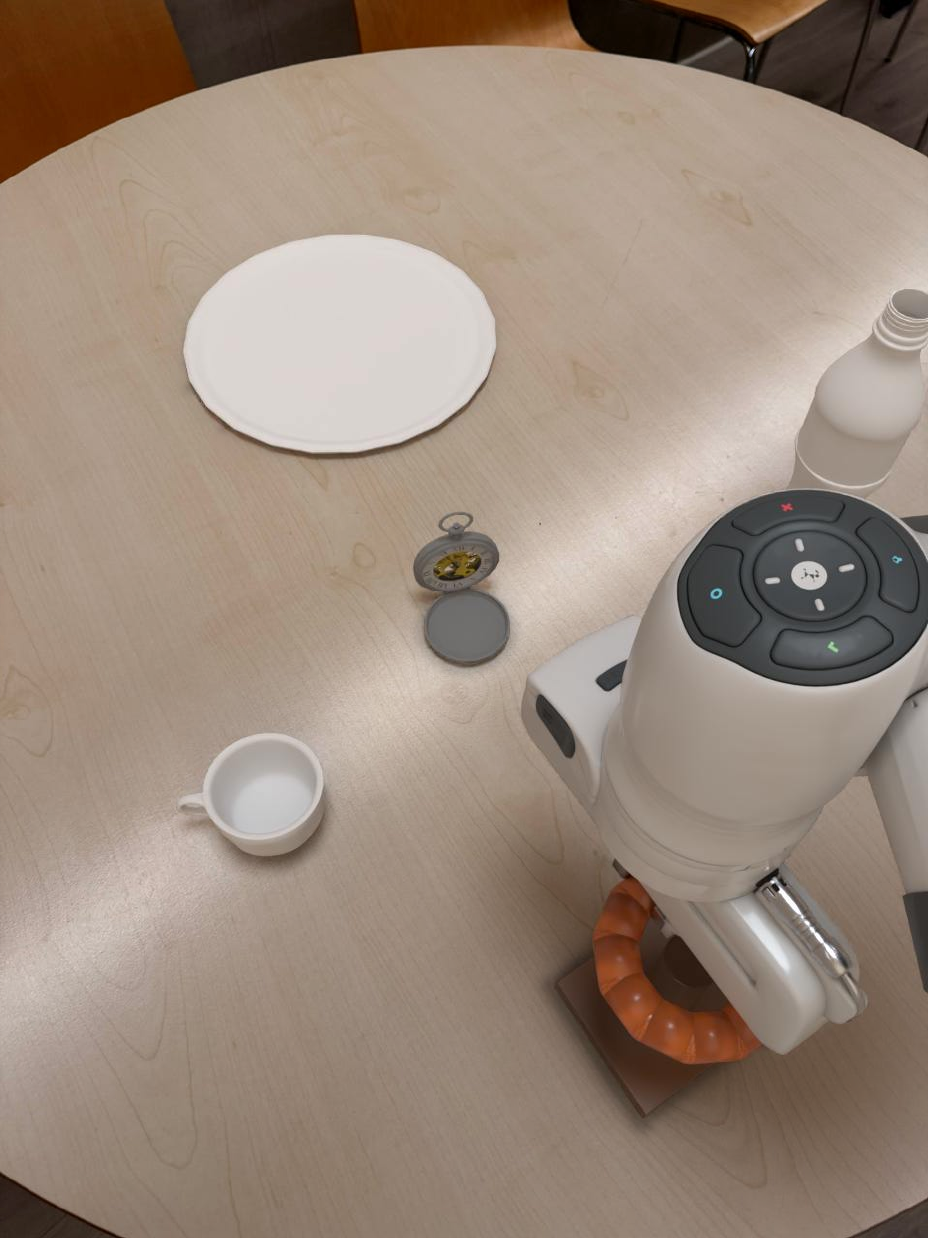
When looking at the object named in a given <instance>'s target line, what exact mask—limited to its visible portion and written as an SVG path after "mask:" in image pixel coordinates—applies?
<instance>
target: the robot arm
mask: <svg viewBox="0 0 928 1238" xmlns="http://www.w3.org/2000/svg"><path fill="white" fill-rule="evenodd" d="M520 717H521V721H522V724H523V726H524V728H525V731H526V732H527V735H528V736H529V737H530V740H531V741H532V742H533V744H534V745H535V746H536V747H537V749H538V750H539V751H540V753H542V755H543V757H545V759H546V760H547V762H548V763H549V765H550V766H551V767H552V768H553V770H554V771H555V772H556V774H557V775H558V776H559V778H560V779H561V781H563V784H565V785H566V787H567V788H568V790H569V791H570V793H571V794H572V795H573V796H574V798H575V799H576V801H577V802H579V804H580V805H581V807H582V808H583V809H584V811H585V812H586V814H587V815H588V816H589V817H590V819H591V820H592V821H593V823H594V824H595V826H596V828H597V830H598V831H599V834H600V836H601V839H602V841H603V842H604V844H605V846H606V848H607V849H608V853H607V856H606V859H607V861H608V862H609V863H610V865H611V866H612V867H613V868H614V870H615V871H616V873H617V874H618V875H619V876H620V877H621V880H624V879H626V878H628V877H629V876H631V875H632V876H633V877H635V878H636V879H638V881H639V882H640V883H641V885H642V886H643V887H644V889H645V890H646V891H647V893H648V894H649V895H650V897H651V898H652V899H653V901H654V902H655V903H656V906H655V907H654V908H653V910H652V913H650V916H651V917H652V919H653V920H654V922H655V923H656V924H657V926H658V927H659V928H660V930H661V931H662V933H663V934H664V935H665V937H666V938H669V937H670V936H672V935H673V934H676V935H678V936H680V937H681V938H682V939H683V940H684V942H685V943H686V944H687V946H688V947H689V948H690V950H691V951H692V952H693V954H694V955H695V956H696V958H697V959H698V960H699V962H700V963H701V964H702V966H703V967H704V968H705V970H706V971H707V972H708V974H709V975H710V976H711V978H712V979H713V980H714V982H715V983H716V984H717V986H718V987H719V988H720V990H721V991H722V992H723V993H724V995H725V996H726V997H727V999H728V1000H729V1001H730V1003H731V1004H732V1005H733V1007H734V1008H735V1009H736V1011H737V1012H738V1013H739V1015H740V1016H741V1017H742V1019H743V1020H744V1021H745V1023H746V1024H747V1025H748V1027H749V1028H750V1029H751V1031H752V1032H753V1034H754V1035H755V1036H756V1037H757V1039H758V1040H759V1041H760V1042H761V1043H762V1045H764V1046H765V1047H766V1048H768V1049H769V1050H771V1051H772V1052H774V1053H775V1054H778V1055H782V1056H785V1055H787V1054H789V1053H790V1052H791V1051H792V1050H793V1049H795V1048H796V1047H798V1046H799V1045H801V1044H802V1043H803V1042H804V1041H806V1040H807V1039H809V1038H810V1037H811V1036H812V1035H814V1034H815V1033H816V1032H817V1031H818V1030H820V1029H821V1028H822V1027H823V1026H824V1025H826V1024H827V1023H828V1022H829V1021H830V1022H832V1023H835V1024H838V1025H842V1024H845V1023H850V1022H852V1021H853V1020H855V1019H856V1018H859V1017H860V1016H862V1014H863V1013H864V1011H865V1009H866V1007H867V1006H868V1002H869V999H868V996H867V994H866V993H865V991H864V990H863V989H862V988H861V986H860V985H859V979H860V972H861V971H860V963H859V960H858V957H857V955H856V952H855V950H854V948H853V947H852V945H851V943H850V942H849V940H848V939H847V937H846V936H845V935H844V933H843V932H842V930H841V929H840V928H839V926H838V925H837V924H836V923H835V922H834V921H833V919H832V918H831V917H830V916H829V914H827V912H826V911H825V910H824V909H823V907H822V906H821V905H820V904H819V902H818V901H817V900H816V899H815V898H814V897H813V896H812V894H811V893H810V892H809V891H808V889H807V888H806V887H805V886H804V884H803V883H801V881H800V880H799V878H798V877H796V875H795V874H794V872H792V871H791V870H790V868H789V867H788V866H787V864H785V862H786V861H787V859H788V858H789V857H790V855H791V854H792V853H793V852H794V851H795V849H796V848H797V847H798V846H799V845H800V843H801V841H803V840H804V838H806V836H807V835H808V833H809V832H810V831H811V829H812V828H813V827H814V825H816V823H817V821H818V820H819V817H820V815H821V814H822V812H823V810H824V807H825V806H826V805H827V804H829V803H830V802H831V801H832V800H834V799H835V798H836V797H837V796H838V795H839V794H840V793H841V792H843V790H844V789H845V788H846V787H847V785H849V783H850V782H851V780H852V779H853V778H855V777H856V778H857V777H867V779H868V782H869V785H870V788H871V791H872V794H873V797H874V800H875V803H876V806H877V810H878V812H879V815H880V819H881V822H882V825H883V828H884V831H885V834H886V836H887V837H886V838H887V840H888V843H889V846H890V849H891V852H892V855H893V858H894V862H895V864H896V867H897V871H898V875H899V877H900V880H901V882H902V886H903V889H904V892H905V894H903V895H901V896H902V902H903V905H904V910H905V913H906V919H907V922H908V927H909V931H910V937H911V940H912V944H913V948H914V949H913V950H914V953H915V957H916V961H917V967H918V970H919V975H920V980H921V984H922V988H923V991H924V992H925V993H926V994H927V995H928V514H924V515H923V514H922V515H912V516H906V517H905V516H904V517H898V516H897V515H896V514H894V513H893V512H891V511H890V510H888V509H886V508H885V507H883V506H880V505H879V504H877V503H875V502H873V501H870V500H868V499H867V498H865V499H863V498H860V497H857V496H854V495H851V494H847V493H843V492H838V491H832V490H825V489H814V488H803V489H789V490H783V489H781V490H780V489H779V490H773V491H770V492H765V493H762V494H758V495H755V496H753V497H750V498H748V499H745V500H742V501H740V502H739V503H737V504H735V505H733V506H731V507H730V508H728V509H726V510H725V511H723V512H722V513H720V514H718V515H717V516H716V517H715V518H713V520H711V521H710V522H709V523H708V524H707V525H705V526H704V527H703V528H702V529H701V530H700V531H699V532H698V533H696V534H695V536H693V537H692V539H691V540H689V542H688V543H686V545H685V546H684V547H683V549H681V551H680V552H679V553H677V555H676V556H675V558H674V559H673V560H672V562H671V563H670V564H669V566H668V568H667V569H666V571H665V573H664V574H663V576H662V577H661V578H660V579H659V582H658V583H657V586H656V588H655V589H654V591H653V593H652V596H651V597H650V600H649V602H648V605H647V607H646V609H645V610H644V613H643V615H642V617H640V616H637V615H629V616H627V617H624V618H621V619H619V620H616V621H614V622H612V623H610V624H608V625H605V626H603V627H601V628H599V629H597V630H595V631H593V632H591V633H589V634H587V635H585V636H584V637H582V638H580V639H579V640H576V641H575V642H573V643H571V644H570V645H569V646H566V647H565V648H564V649H562V650H560V651H559V652H557V653H556V654H555V655H553V656H552V657H550V658H549V659H547V660H545V662H543V663H542V664H540V665H539V666H538V667H537V668H535V669H534V670H532V671H531V672H530V673H528V675H527V676H526V679H525V688H524V691H523V694H522V699H521V706H520Z"/></svg>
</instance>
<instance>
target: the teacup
mask: <svg viewBox="0 0 928 1238" xmlns="http://www.w3.org/2000/svg"><path fill="white" fill-rule="evenodd" d="M324 789H325V780H324V771H323V768H322V764H321V762H320V760H319V758H318V757H317V755H316V753H315V752H314V751H313V750H312V748H310V747H309V745H307V744H305V743H304V741H301V740H300V739H297V738H295V737H294V736H291V735H288V734H285V733H276V732H263V733H256V734H252V735H247V736H245V737H243V738H240V739H238V740H236V741H234V742H233V743H231V744H229V745H228V746H226V747H225V748H224V749H223V750H222V751H221V752H220V753H218V755H217V756H216V757H215V758H214V759H213V761H212V762H211V764H210V765H209V767H208V769H207V771H206V774H205V775H204V780H203V785H202V791H201V792H196V793H191V794H186V795H183V796H181V797H179V798H178V799H177V801H176V803H175V807H176V808H175V809H176V811H177V812H178V813H180V814H182V815H187V816H192V817H193V816H194V817H200V818H201V817H202V818H208V819H210V820H211V822H212V823H213V824H214V825H215V827H216V828H217V830H218V831H219V832H220V833H221V834H222V835H223V836H224V837H225V838H227V840H229V841H230V842H231V843H233V845H235V846H236V847H237V848H238V849H240V850H241V851H242V852H244V853H246V854H249V855H253V856H257V857H273V856H279V855H283V854H284V855H285V854H287V853H290V852H292V851H294V850H296V849H298V848H299V847H300V846H302V845H303V844H305V842H306V841H307V840H308V839H309V838H310V837H311V836H312V835H313V834H314V833H315V831H316V829H317V828H318V827H319V825H320V823H321V821H322V818H323V815H324V812H325V793H324V792H325V790H324ZM188 805H189V806H188ZM190 805H195V806H190ZM197 806H198V807H197Z"/></svg>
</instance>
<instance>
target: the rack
mask: <svg viewBox="0 0 928 1238" xmlns="http://www.w3.org/2000/svg"><path fill="white" fill-rule="evenodd" d="M639 946H640V952H641V959H642V965H643V971H644V974H645V975H646V977H647V978H648V979H649V981H650V982H651V983H652V985H653V986H654V987H655V989H656V990H657V991H658V993H659V994H660V995H661V997H662V998H663V999H665V1000H667V1001H669V1002H671V1003H673V1004H675V1005H677V1006H679V1007H681V1008H683V1009H686V1010H688V1011H690V1012H703V1011H716V1010H721V1009H722V1008H724V1007H725V1006H726V1005H727V1004H729V1003H730V1001H729V1000H728V999H727V997H726V996H725V995H724V993H723V992H722V991H721V990H720V988H719V987H718V986H717V984H716V983H715V982H714V980H713V979H712V978H711V976H710V975H709V974H708V972H707V971H706V970H705V968H704V967H703V966H702V964H701V963H700V962H699V960H698V959H697V958H696V956H695V955H694V954H693V952H692V951H691V950H690V948H689V947H688V946H687V944H686V943H685V942H684V940H683V939H682V938H681V937H680V936H678V935H676V934H673V935H672V936H670V937H669V938H666V937H665V935H664V934H663V933H662V931H661V930H660V928H659V927H658V926H657V924H656V923H655V922H654V920H653V919H652V918H650V919H649V920H648V923H647V925H646V928H645V930H644V933H643V936H642V938H641V941H640V943H639ZM554 989H555V991H556V992H557V993H558V995H559V996H560V998H561V999H562V1001H563V1002H564V1004H565V1005H566V1007H567V1009H568V1011H570V1012H571V1014H572V1016H573V1017H574V1019H575V1020H576V1022H577V1023H578V1025H579V1026H580V1028H581V1030H583V1033H585V1036H586V1037H587V1038H588V1040H589V1041H590V1043H591V1044H592V1045H593V1047H594V1048H595V1050H596V1052H597V1053H598V1055H599V1056H600V1058H601V1059H602V1060H603V1062H604V1063H605V1065H606V1066H607V1068H608V1069H609V1071H610V1072H611V1074H612V1075H613V1077H614V1078H615V1079H616V1081H617V1082H618V1084H619V1086H620V1087H621V1089H622V1091H623V1092H624V1093H625V1094H626V1096H627V1097H628V1099H629V1101H630V1102H631V1103H632V1105H633V1107H634V1108H635V1109H636V1111H637V1112H638V1114H639V1115H640V1117H641V1118H643V1119H644V1118H645V1117H646V1116H648V1115H649V1114H650V1113H651V1112H653V1111H654V1110H655V1109H657V1108H658V1107H659V1106H661V1105H662V1104H663V1103H665V1102H666V1101H667V1100H668V1099H670V1098H671V1097H673V1096H674V1095H676V1093H678V1092H679V1091H680V1090H681V1089H683V1088H684V1087H686V1086H687V1085H688V1084H689V1083H691V1082H692V1081H693V1080H695V1079H696V1078H697V1077H698V1076H700V1075H701V1074H703V1073H704V1072H705V1071H706V1070H708V1069H709V1068H711V1066H713V1065H714V1064H715V1063H705V1064H684V1063H681V1062H679V1061H677V1060H675V1059H673V1058H671V1057H669V1056H667V1055H665V1054H663V1053H661V1052H659V1051H657V1050H655V1049H653V1048H651V1047H649V1046H647V1045H645V1044H643V1043H641V1042H639V1041H637V1040H636V1039H634V1038H633V1037H632V1036H631V1034H630V1033H629V1032H628V1030H627V1029H626V1028H625V1026H624V1025H623V1024H622V1022H621V1021H620V1019H619V1018H618V1017H617V1015H616V1014H615V1013H614V1011H613V1010H612V1008H611V1007H610V1006H609V1004H608V1003H607V1001H606V1000H605V999H604V997H603V996H602V994H601V992H600V989H599V985H598V978H597V971H596V964H595V957H594V956H592V957H591V958H589V959H588V960H587V961H585V962H584V963H582V964H581V965H579V966H578V967H576V968H575V969H573V970H572V971H570V972H569V973H568V974H566V975H564V977H562V978H561V979H558V980H557V981H556V983H555V986H554Z"/></svg>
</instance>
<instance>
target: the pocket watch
mask: <svg viewBox="0 0 928 1238" xmlns="http://www.w3.org/2000/svg"><path fill="white" fill-rule="evenodd" d="M456 515H457V516H463V515H464V516H466V517H468V518H469V519H468V520H469V521H468V522H467V523H465V525H463V524H460V523H459V522H453V524H452V526H450V527H449V528H447V527H444V526H443V523H444V522H445V520H447V519H448V518H451V517H454V516H456ZM473 522H474V516H473V515H472V514H471V513H469V512H466V511H454V512H450V513H447V514H446V515H444V516H443V517H441V519H439V520H438V523H437V527H438V528H439V530H441V531H442V532H446V533H448V534H443V535H442V536H440V537H437V538H435V539H433V540H431V541H430V542H428V543H427V544H425V545H424V546H423V547H422V548H421V549H420V550H419V551H418V552H417V554H416V556H415V558H414V560H413V566H412V570H413V576H414V579H415V582H417V583H418V585H419V586H420V587H421V588H424V589H427V590H428V591H431V592H438V593H443V594H441V595H440V596H439V597H437V598H436V599H435V600H434V601H432V603H431V604H430V605H429V607H428V609H427V610H426V613H425V616H424V621H423V629H424V637H425V639H426V640H427V643H428V645H429V646H430V647H431V649H432V650H433V651H434V653H435V654H437V655H439V656H440V657H442V658H443V659H445V660H447V661H450V662H452V663H456V664H462V665H473V664H478V663H482V662H486V661H487V660H489V659H491V658H493V657H495V656H496V655H497V654H498V653H499V652H500V651H501V650H502V649H503V648H504V647H505V645H506V643H507V641H508V639H509V636H510V633H511V620H510V616H509V613H508V611H507V609H506V607H505V605H504V604H503V603H502V602H501V600H499V598H496V596H494V595H493V594H490V593H489V592H486V591H484V590H481V589H475V588H471V587H472V586H475V585H478V584H479V583H481V582H482V581H484V580H485V579H486V578H488V577H489V576H490V575H491V574H492V573H493V572H494V571H495V570H496V568H497V567H498V564H499V562H500V551H499V549H498V547H497V544H496V543H495V542H494V541H493V539H492V538H491V537H490V536H488V535H487V534H484V533H482V532H477V531H471V530H468V531H467V530H466V529H467V528H469V527H471V525H472V523H473ZM465 530H466V531H465ZM448 568H449V569H450V570H446V569H448Z"/></svg>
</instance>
